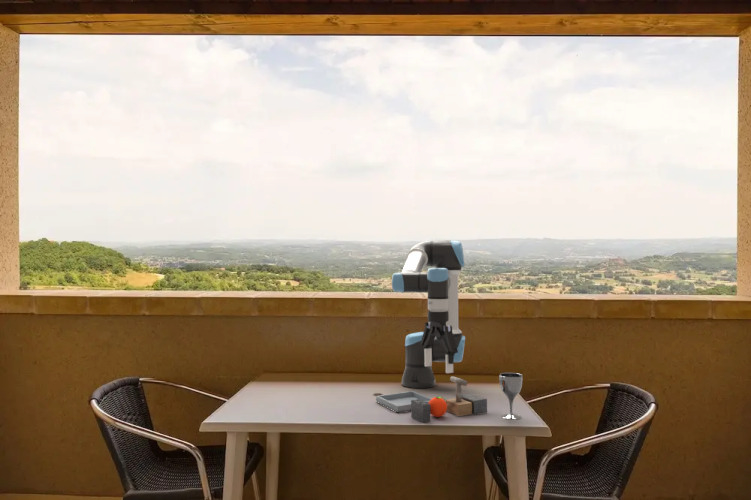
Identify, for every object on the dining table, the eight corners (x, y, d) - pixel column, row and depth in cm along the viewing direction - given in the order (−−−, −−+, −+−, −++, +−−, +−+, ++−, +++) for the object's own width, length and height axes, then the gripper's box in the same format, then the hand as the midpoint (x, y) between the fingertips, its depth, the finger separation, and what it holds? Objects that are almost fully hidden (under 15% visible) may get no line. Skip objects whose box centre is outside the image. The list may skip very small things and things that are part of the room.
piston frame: (410, 416, 196) (410, 399, 196) (472, 406, 208) (471, 390, 208) (424, 423, 188) (423, 405, 188) (487, 412, 200) (487, 396, 200)
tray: (376, 402, 215) (376, 396, 215) (413, 397, 223) (412, 390, 223) (397, 413, 200) (397, 406, 200) (436, 407, 208) (436, 400, 208)
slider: (445, 410, 202) (445, 377, 202) (459, 408, 205) (458, 375, 205) (458, 416, 195) (458, 381, 195) (472, 413, 198) (471, 379, 198)
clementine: (437, 412, 201) (437, 392, 201) (452, 416, 196) (452, 396, 196) (423, 416, 196) (423, 396, 196) (438, 420, 191) (438, 400, 191)
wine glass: (496, 413, 198) (496, 372, 198) (518, 413, 199) (517, 372, 199) (503, 420, 190) (503, 377, 191) (526, 419, 191) (525, 376, 191)
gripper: (411, 308, 206) (411, 364, 205) (449, 313, 184) (450, 376, 183) (427, 307, 209) (428, 362, 209) (467, 312, 187) (468, 374, 187)
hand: (438, 369), depth 196 cm, fingers open, 13 cm apart
